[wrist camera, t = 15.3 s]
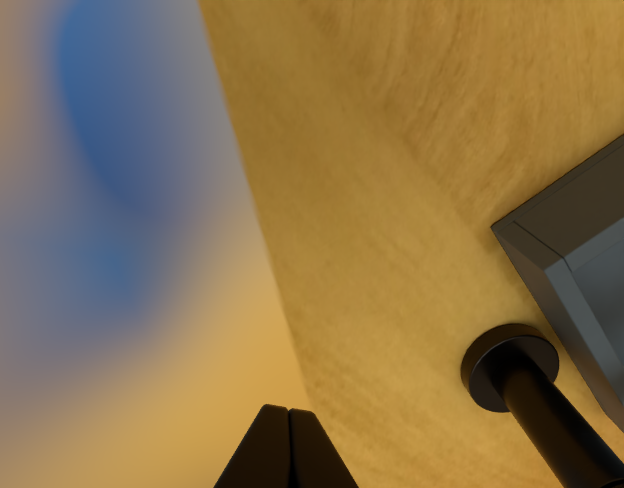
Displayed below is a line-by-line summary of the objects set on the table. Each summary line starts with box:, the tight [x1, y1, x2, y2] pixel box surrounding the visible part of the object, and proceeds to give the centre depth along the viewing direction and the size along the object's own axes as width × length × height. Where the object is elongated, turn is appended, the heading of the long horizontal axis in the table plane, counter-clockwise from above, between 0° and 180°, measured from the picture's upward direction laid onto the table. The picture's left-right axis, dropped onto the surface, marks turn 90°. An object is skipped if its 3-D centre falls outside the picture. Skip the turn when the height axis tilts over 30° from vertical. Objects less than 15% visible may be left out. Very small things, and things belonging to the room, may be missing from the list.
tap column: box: [461, 324, 624, 488], centre depth 21 cm, size 4×4×8 cm
